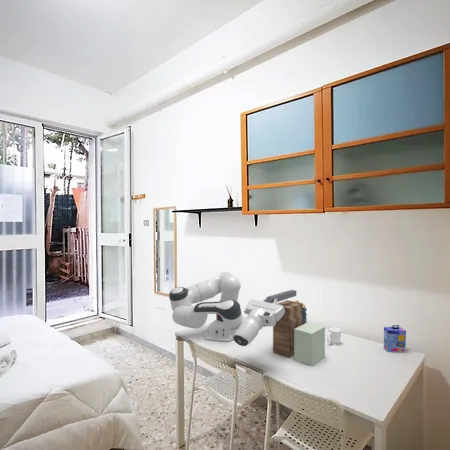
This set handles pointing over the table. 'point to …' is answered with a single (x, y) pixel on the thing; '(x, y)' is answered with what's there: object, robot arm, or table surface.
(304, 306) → the canister
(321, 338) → the sage block
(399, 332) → the ink cartridge box
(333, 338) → the cup
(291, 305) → the walnut stand
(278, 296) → the metal bar
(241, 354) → the table surface
